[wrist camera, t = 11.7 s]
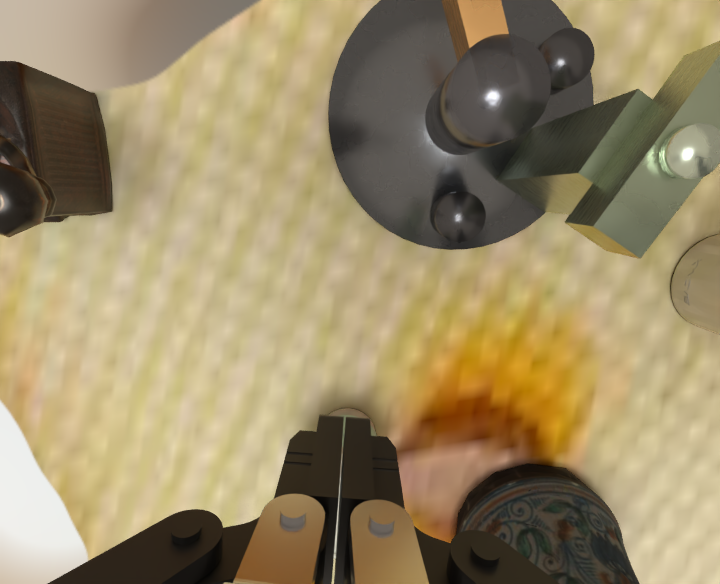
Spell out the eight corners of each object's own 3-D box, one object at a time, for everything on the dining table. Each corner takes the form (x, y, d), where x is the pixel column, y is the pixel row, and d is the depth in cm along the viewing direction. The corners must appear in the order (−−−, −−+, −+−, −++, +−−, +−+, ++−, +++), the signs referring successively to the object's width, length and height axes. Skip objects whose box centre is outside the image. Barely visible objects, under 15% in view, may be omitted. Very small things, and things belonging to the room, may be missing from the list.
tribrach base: (632, 78, 37) (929, -44, 18) (484, 290, 41) (596, 375, 22) (421, -81, 35) (503, -427, 15) (283, 163, 39) (212, 132, 19)
